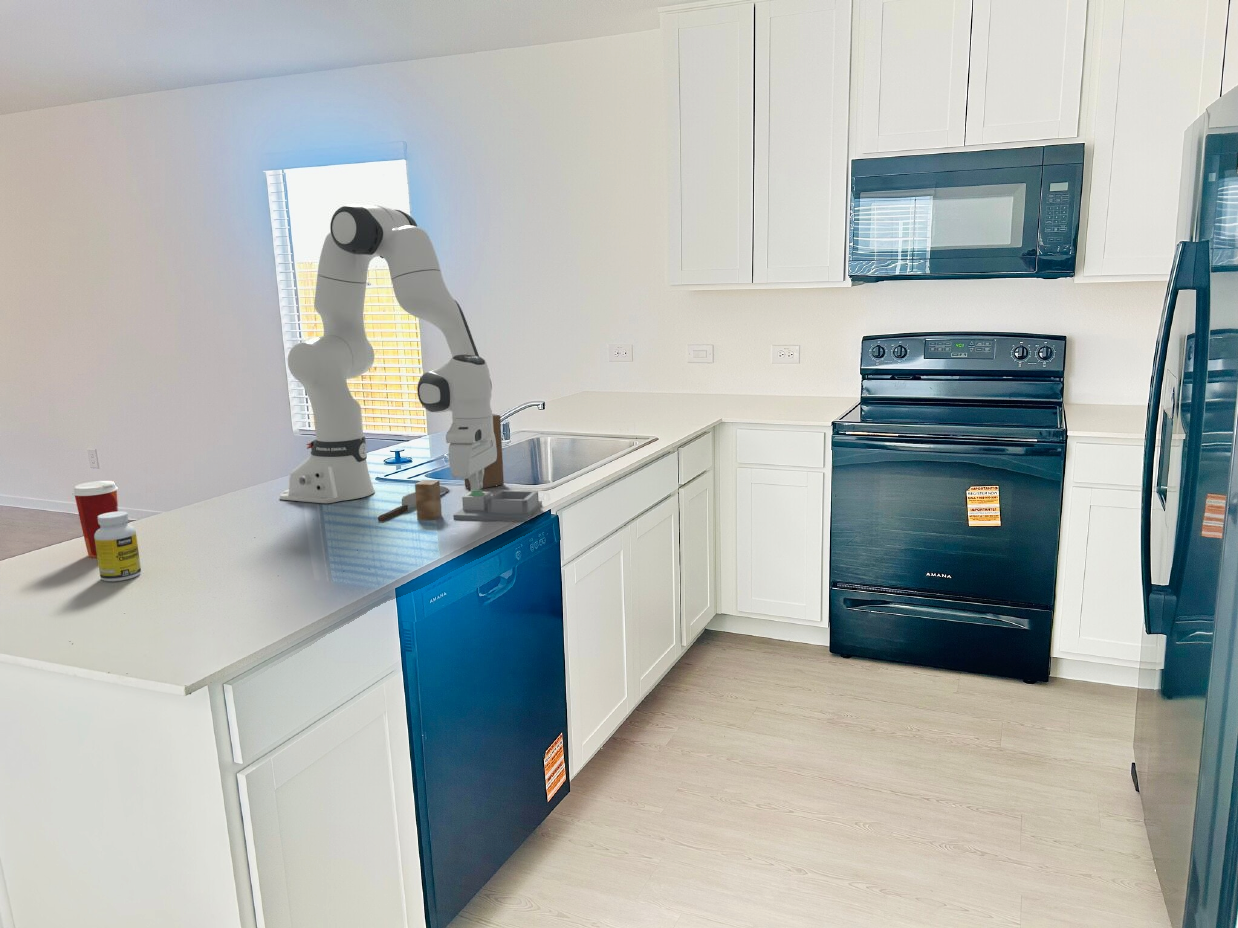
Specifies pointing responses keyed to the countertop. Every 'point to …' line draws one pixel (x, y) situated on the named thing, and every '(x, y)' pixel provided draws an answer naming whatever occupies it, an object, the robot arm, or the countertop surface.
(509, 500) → the gray button tray fixture
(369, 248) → the robot arm
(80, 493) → the paper cup
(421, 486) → the block
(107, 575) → the pill bottle
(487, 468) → the wooden block
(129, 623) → the countertop surface
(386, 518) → the kitchen knife
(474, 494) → the button
